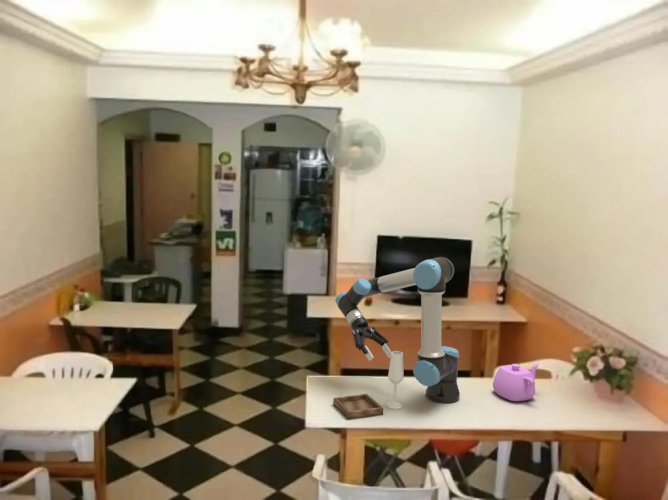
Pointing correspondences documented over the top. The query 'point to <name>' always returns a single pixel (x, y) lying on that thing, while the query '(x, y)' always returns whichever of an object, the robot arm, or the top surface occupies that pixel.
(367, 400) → the walnut tray
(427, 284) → the robot arm
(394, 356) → the champagne flute
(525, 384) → the teapot
